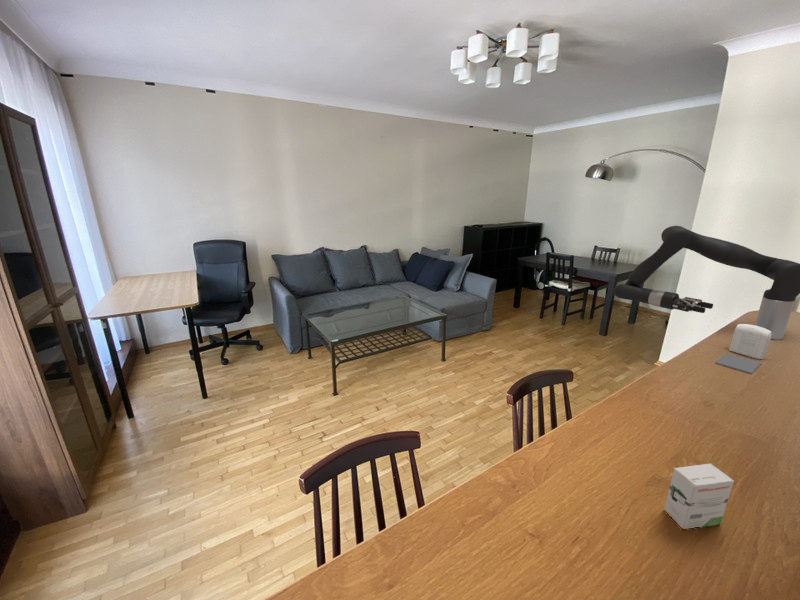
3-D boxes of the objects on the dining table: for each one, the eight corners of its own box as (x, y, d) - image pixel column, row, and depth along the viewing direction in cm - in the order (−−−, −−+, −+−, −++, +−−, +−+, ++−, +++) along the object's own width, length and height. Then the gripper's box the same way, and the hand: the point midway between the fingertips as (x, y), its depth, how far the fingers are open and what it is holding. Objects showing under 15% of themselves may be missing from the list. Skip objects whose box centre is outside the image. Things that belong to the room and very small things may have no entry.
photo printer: (766, 358, 129) (775, 328, 125) (761, 361, 127) (771, 331, 123) (731, 348, 138) (739, 320, 134) (726, 350, 136) (734, 322, 132)
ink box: (698, 504, 72) (711, 461, 69) (722, 526, 68) (736, 480, 64) (661, 509, 72) (672, 466, 68) (682, 531, 67) (695, 486, 63)
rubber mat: (725, 354, 133) (726, 353, 133) (761, 364, 125) (761, 362, 125) (714, 363, 127) (715, 362, 127) (751, 374, 119) (751, 372, 119)
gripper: (657, 294, 148) (704, 303, 134) (671, 288, 155) (717, 296, 142) (654, 310, 150) (700, 320, 137) (668, 303, 157) (712, 313, 144)
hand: (708, 308), depth 139 cm, fingers open, 8 cm apart
